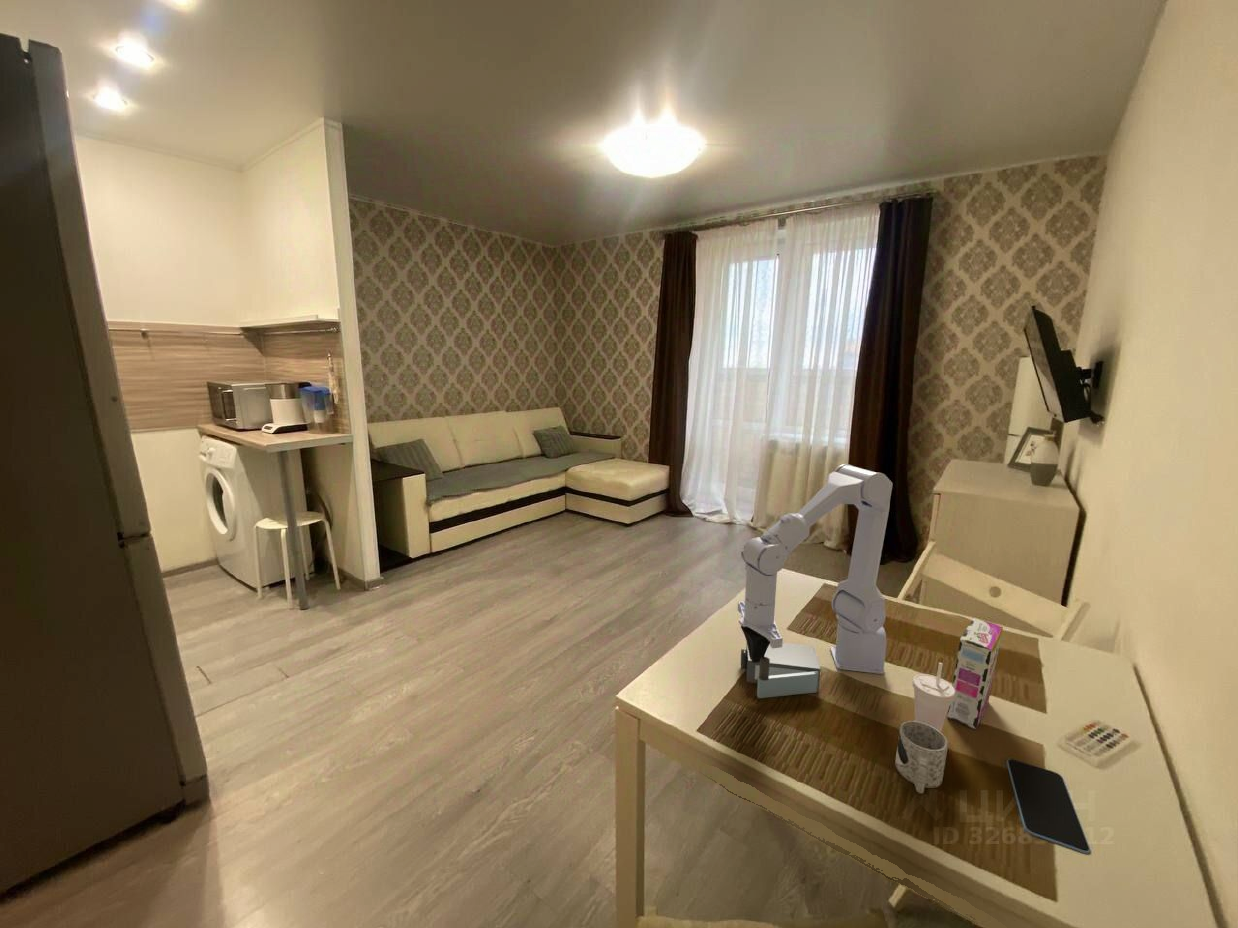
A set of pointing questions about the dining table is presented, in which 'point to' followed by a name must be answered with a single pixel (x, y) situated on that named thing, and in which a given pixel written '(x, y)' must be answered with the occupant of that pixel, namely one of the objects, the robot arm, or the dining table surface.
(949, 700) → the smoothie
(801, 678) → the side door
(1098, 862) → the dining table surface
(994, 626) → the candy bar box
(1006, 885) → the dining table surface
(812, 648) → the camera housing
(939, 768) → the mug
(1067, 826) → the smartphone
